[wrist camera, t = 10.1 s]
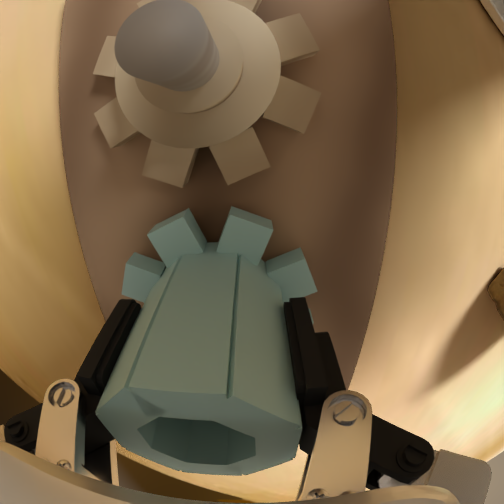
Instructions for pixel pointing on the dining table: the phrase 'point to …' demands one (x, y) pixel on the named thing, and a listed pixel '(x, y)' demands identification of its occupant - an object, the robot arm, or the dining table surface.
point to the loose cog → (209, 350)
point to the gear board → (235, 136)
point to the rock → (498, 292)
